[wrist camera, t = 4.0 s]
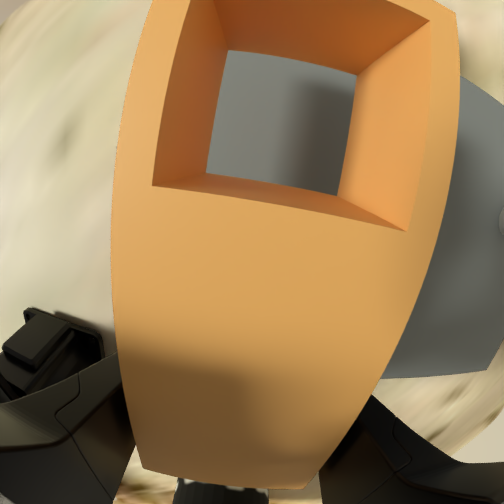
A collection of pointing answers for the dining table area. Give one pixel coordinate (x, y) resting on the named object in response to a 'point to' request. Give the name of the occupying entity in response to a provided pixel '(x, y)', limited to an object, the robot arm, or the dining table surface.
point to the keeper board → (327, 181)
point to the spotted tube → (217, 493)
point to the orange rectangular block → (273, 236)
